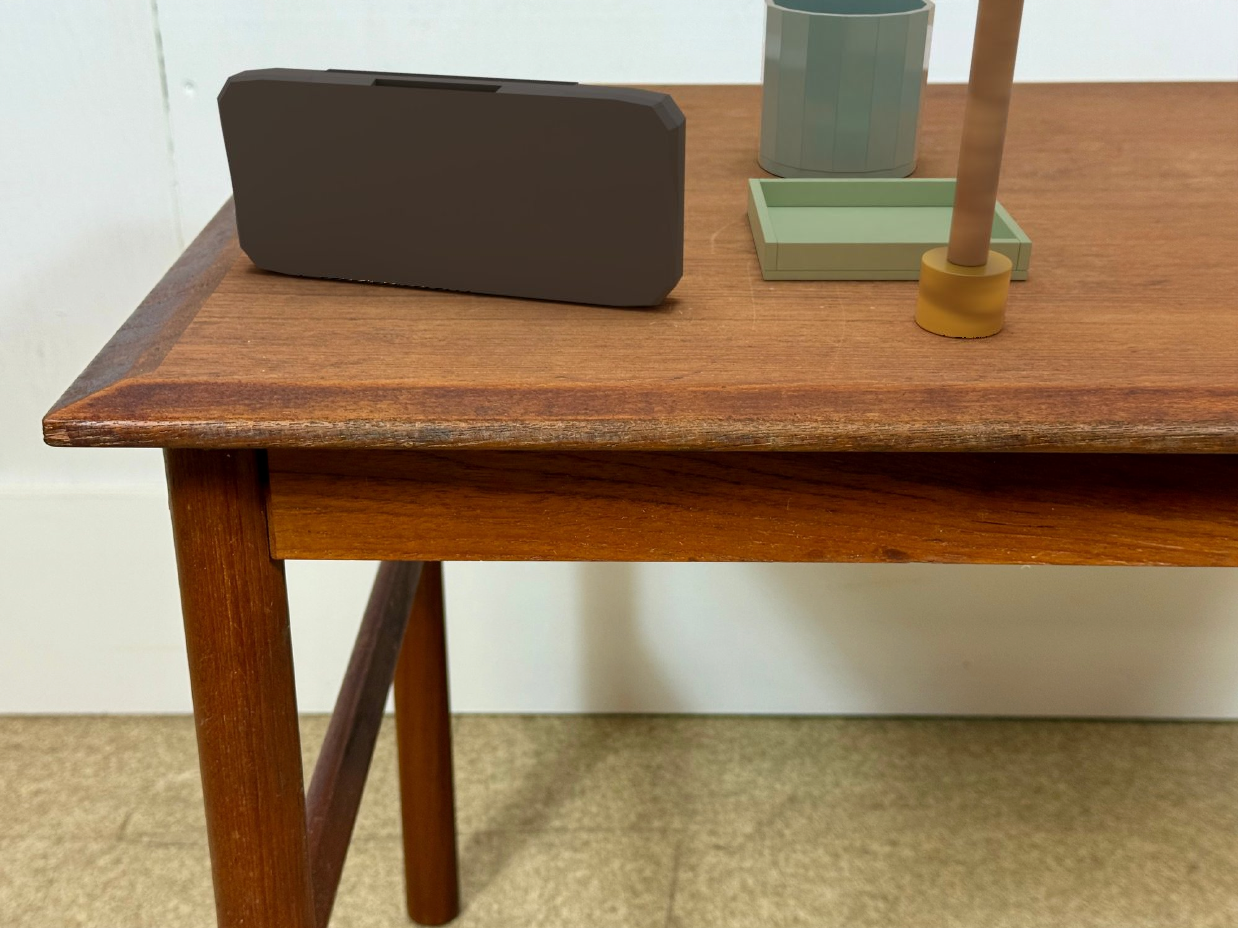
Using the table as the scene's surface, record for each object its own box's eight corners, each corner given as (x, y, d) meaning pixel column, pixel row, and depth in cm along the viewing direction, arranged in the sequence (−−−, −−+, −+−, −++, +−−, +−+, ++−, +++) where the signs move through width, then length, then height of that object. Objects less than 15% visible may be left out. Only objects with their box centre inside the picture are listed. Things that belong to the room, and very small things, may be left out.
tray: (975, 211, 73) (979, 178, 72) (1027, 280, 64) (1032, 242, 63) (746, 212, 74) (748, 178, 73) (763, 280, 64) (765, 242, 63)
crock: (900, 142, 87) (916, -12, 82) (930, 185, 78) (950, 15, 73) (752, 143, 87) (758, -11, 82) (764, 185, 78) (773, 16, 73)
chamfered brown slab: (686, 293, 62) (690, 86, 57) (673, 314, 60) (676, 99, 55) (265, 255, 67) (237, 62, 63) (239, 272, 65) (207, 73, 60)
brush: (991, 305, 61) (1051, -105, 52) (1012, 338, 57) (1080, -96, 48) (907, 305, 61) (953, -105, 52) (923, 338, 57) (976, -95, 49)
